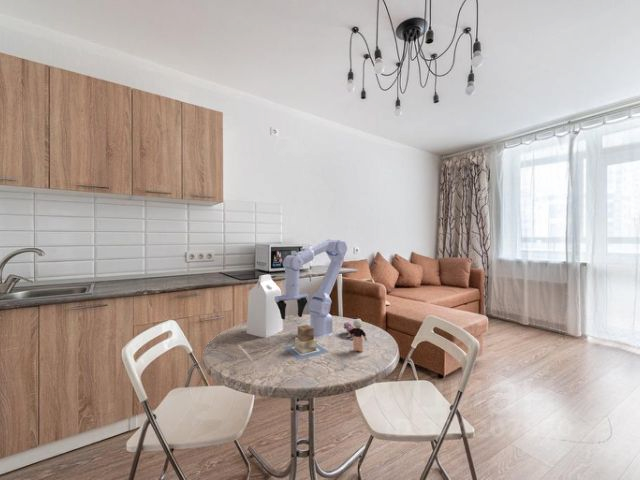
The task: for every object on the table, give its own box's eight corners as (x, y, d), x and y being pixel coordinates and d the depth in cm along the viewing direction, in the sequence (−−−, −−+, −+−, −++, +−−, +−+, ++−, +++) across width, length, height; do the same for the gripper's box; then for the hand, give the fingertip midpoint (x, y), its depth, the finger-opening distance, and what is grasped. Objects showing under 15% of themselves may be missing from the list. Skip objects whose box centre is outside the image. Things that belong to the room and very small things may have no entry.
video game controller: (347, 335, 132) (340, 322, 132) (356, 330, 133) (349, 317, 132) (351, 343, 122) (344, 329, 122) (361, 338, 123) (354, 324, 122)
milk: (264, 326, 141) (264, 272, 140) (283, 330, 135) (283, 274, 134) (246, 333, 130) (246, 275, 130) (266, 337, 125) (265, 277, 124)
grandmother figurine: (368, 351, 110) (368, 318, 110) (366, 355, 107) (366, 321, 106) (348, 348, 113) (348, 316, 113) (346, 352, 109) (346, 319, 109)
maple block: (308, 345, 115) (308, 335, 115) (316, 350, 110) (316, 340, 110) (295, 348, 112) (295, 338, 112) (302, 353, 107) (302, 343, 106)
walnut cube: (307, 336, 114) (307, 324, 114) (313, 339, 110) (313, 328, 110) (297, 338, 111) (297, 326, 111) (303, 342, 107) (303, 330, 107)
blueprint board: (312, 342, 120) (312, 340, 120) (329, 353, 108) (329, 351, 108) (283, 348, 113) (283, 346, 113) (298, 361, 102) (298, 359, 102)
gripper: (279, 287, 111) (279, 322, 112) (312, 284, 119) (311, 317, 119) (272, 284, 118) (272, 318, 118) (304, 282, 125) (303, 313, 125)
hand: (291, 317), depth 119 cm, fingers open, 7 cm apart
